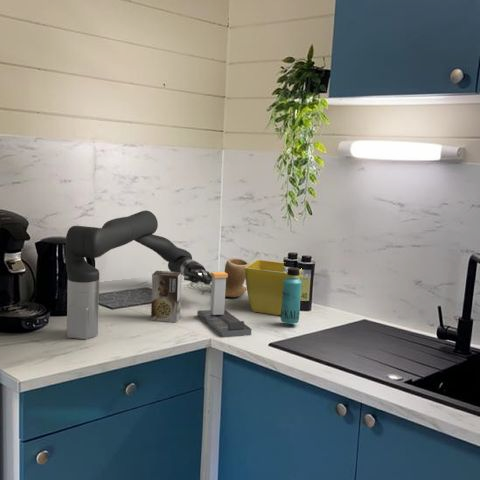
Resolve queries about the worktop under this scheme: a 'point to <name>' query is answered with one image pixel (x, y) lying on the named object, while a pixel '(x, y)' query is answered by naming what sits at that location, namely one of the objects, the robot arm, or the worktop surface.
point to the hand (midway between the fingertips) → (208, 281)
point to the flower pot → (266, 285)
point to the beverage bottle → (291, 297)
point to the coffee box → (166, 296)
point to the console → (224, 324)
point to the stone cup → (235, 277)
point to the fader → (218, 292)
